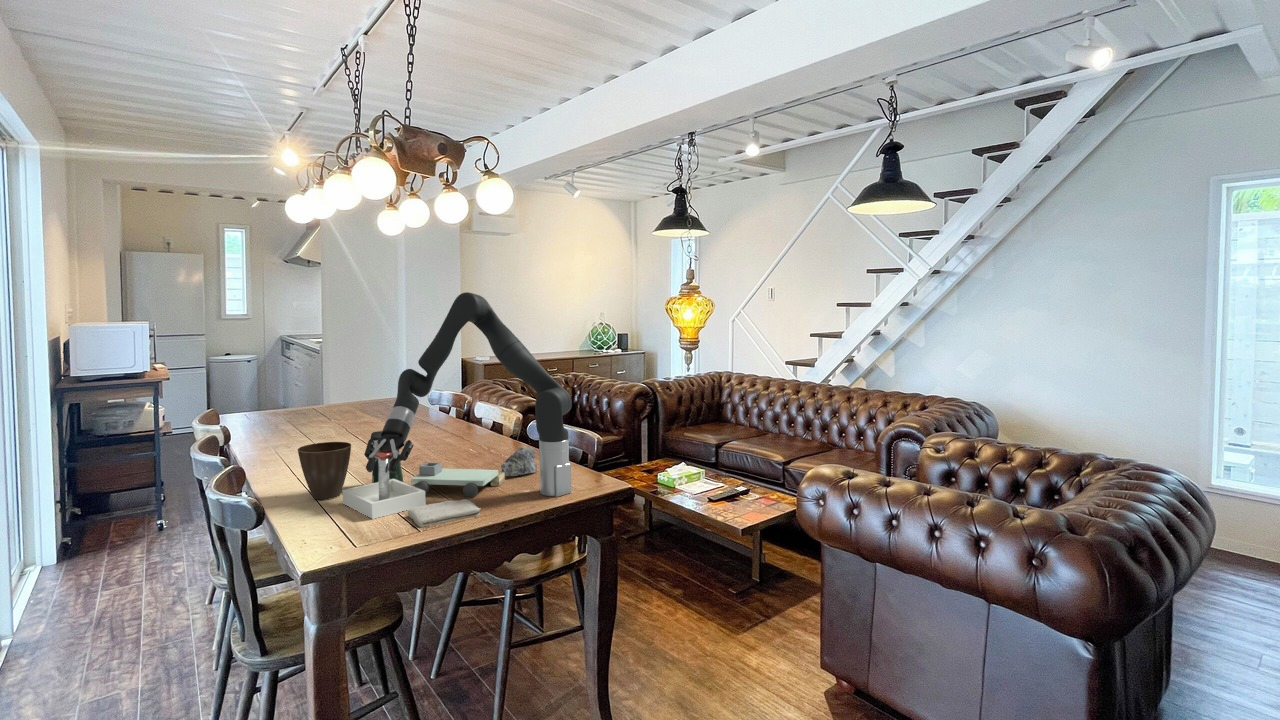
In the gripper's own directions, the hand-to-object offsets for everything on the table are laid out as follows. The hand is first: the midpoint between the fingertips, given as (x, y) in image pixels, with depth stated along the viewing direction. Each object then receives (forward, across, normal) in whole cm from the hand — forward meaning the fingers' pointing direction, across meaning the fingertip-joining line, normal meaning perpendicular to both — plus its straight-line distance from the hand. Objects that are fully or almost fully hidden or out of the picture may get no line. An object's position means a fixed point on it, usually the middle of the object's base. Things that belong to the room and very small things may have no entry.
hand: (379, 471), depth 181 cm
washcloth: (+12, +22, +4) cm, 26 cm away
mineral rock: (-20, +29, +35) cm, 50 cm away
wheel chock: (-11, +26, +26) cm, 39 cm away
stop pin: (+6, 0, +8) cm, 10 cm away
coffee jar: (-7, -10, +22) cm, 25 cm away
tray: (+6, 0, +9) cm, 11 cm away
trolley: (-6, +15, +21) cm, 27 cm away
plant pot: (+2, -23, +13) cm, 26 cm away
